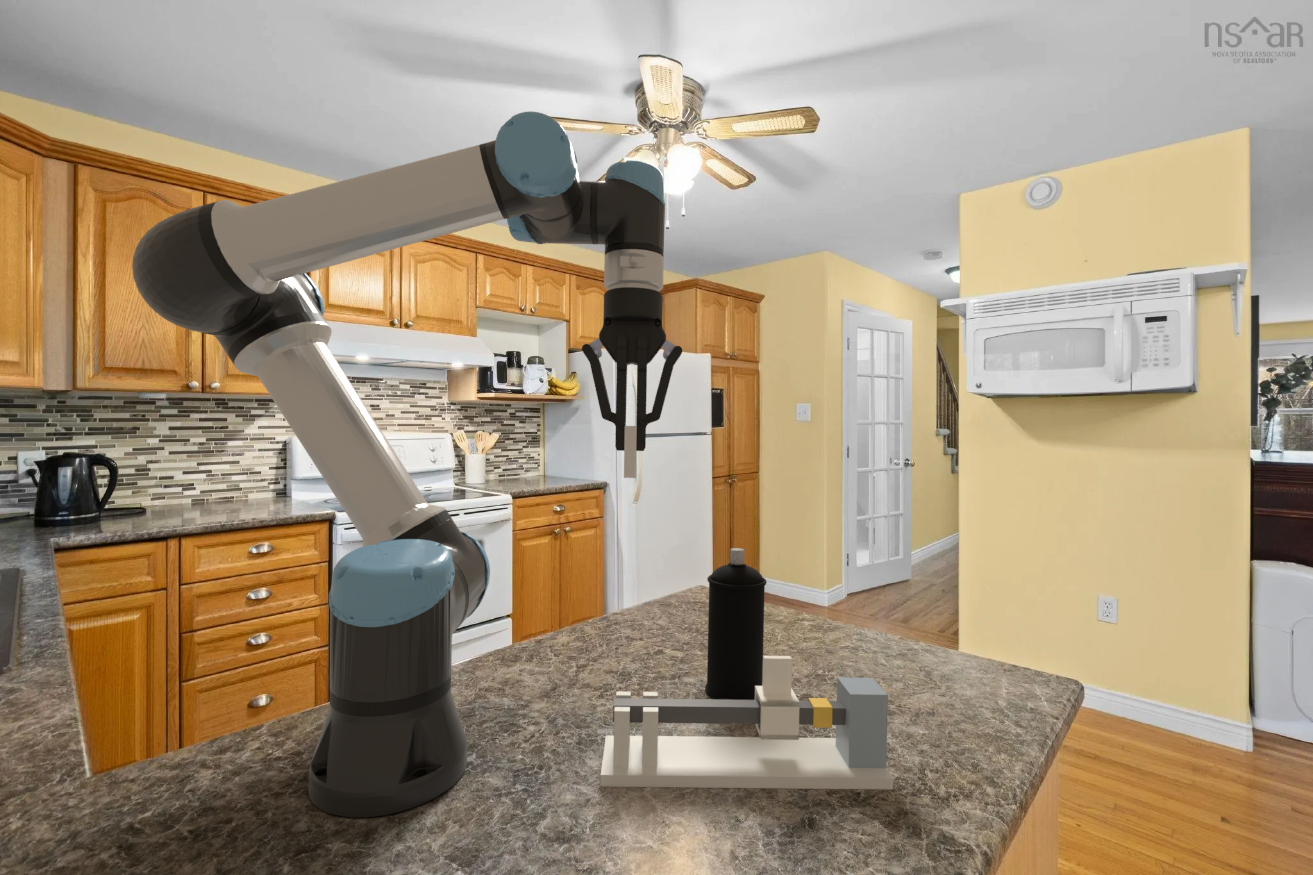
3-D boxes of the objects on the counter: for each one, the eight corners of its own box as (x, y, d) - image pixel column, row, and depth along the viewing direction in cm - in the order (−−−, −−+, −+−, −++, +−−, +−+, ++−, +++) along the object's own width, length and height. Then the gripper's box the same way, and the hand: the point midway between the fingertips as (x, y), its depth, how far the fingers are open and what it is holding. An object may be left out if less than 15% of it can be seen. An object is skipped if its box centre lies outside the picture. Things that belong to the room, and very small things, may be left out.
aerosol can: (763, 707, 80) (766, 557, 80) (701, 701, 82) (704, 553, 82) (764, 682, 89) (767, 545, 88) (708, 677, 90) (711, 542, 90)
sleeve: (760, 739, 64) (762, 663, 64) (754, 721, 68) (755, 650, 68) (798, 739, 64) (800, 664, 64) (789, 721, 68) (791, 650, 68)
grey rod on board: (600, 786, 62) (602, 698, 62) (605, 745, 70) (607, 667, 70) (892, 789, 63) (894, 702, 62) (864, 748, 71) (866, 671, 70)
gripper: (578, 283, 74) (575, 478, 74) (686, 285, 74) (682, 480, 74) (585, 296, 81) (582, 473, 81) (683, 299, 81) (679, 475, 82)
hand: (630, 476), depth 78 cm, fingers closed
